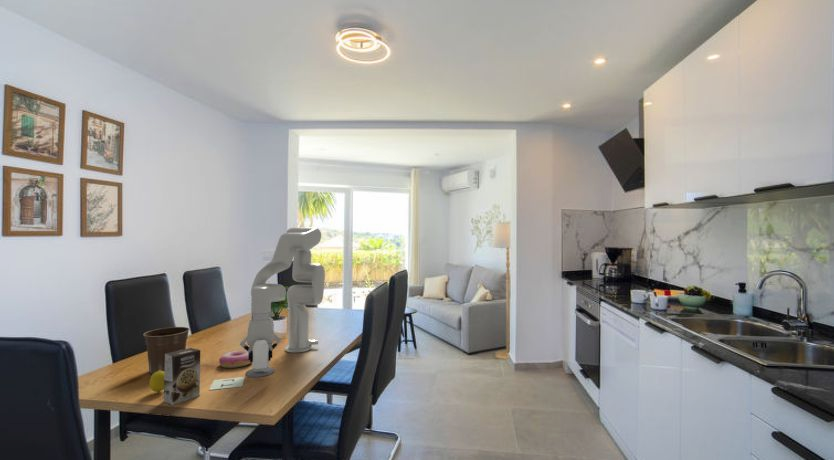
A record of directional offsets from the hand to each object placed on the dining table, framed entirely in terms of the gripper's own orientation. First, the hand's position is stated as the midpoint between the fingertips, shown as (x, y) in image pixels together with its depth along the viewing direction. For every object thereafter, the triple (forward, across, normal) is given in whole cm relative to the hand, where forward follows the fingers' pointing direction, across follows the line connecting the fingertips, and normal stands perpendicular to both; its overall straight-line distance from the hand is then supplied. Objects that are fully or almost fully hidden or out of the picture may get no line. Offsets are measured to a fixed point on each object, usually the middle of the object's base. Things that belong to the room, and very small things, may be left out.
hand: (260, 360), depth 160 cm
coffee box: (+5, +24, +19) cm, 31 cm away
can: (+3, 0, 0) cm, 3 cm away
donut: (+5, +10, -14) cm, 18 cm away
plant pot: (+5, +37, -15) cm, 40 cm away
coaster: (+5, 0, 0) cm, 5 cm away
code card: (+5, +11, +9) cm, 15 cm away
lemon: (+5, +33, +11) cm, 35 cm away
